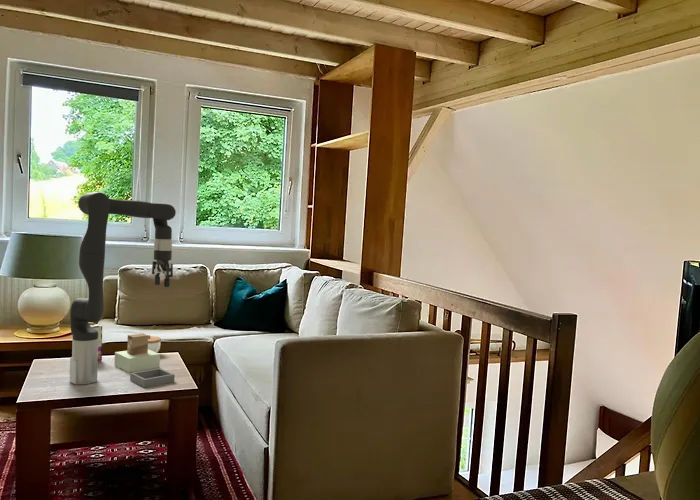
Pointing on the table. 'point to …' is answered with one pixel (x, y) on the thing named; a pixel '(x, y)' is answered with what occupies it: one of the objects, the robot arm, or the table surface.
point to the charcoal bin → (162, 379)
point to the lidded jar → (154, 343)
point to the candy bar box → (99, 340)
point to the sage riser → (137, 361)
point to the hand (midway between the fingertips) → (161, 285)
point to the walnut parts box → (137, 344)
